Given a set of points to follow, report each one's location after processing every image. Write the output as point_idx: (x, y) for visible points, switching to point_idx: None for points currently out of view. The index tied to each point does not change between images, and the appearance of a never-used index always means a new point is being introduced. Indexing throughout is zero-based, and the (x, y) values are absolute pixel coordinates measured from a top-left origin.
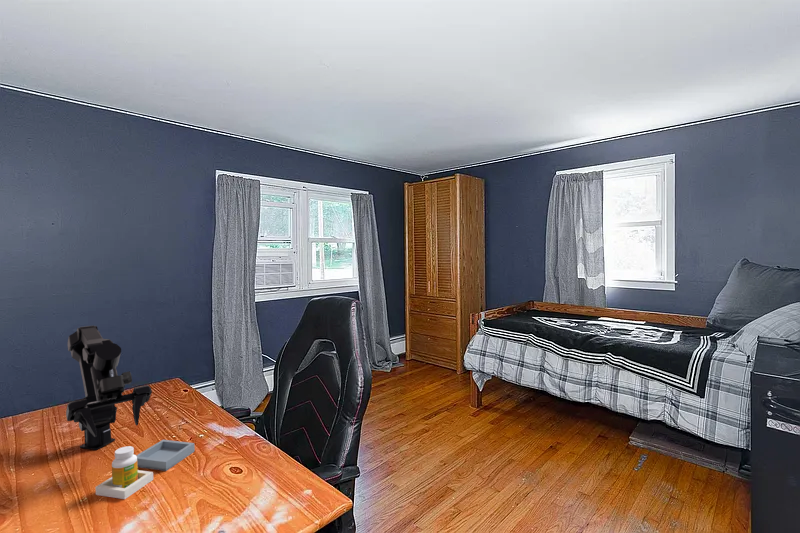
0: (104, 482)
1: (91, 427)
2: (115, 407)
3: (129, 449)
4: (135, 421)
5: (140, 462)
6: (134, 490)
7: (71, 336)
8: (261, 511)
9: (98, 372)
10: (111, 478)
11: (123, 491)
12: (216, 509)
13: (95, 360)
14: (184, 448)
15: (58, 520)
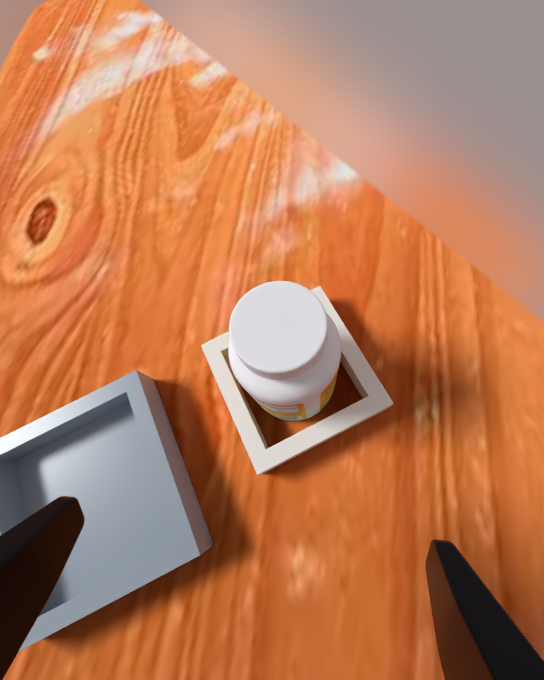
0: (358, 412)
1: (529, 648)
2: None
3: (255, 306)
4: (56, 542)
5: (188, 501)
6: None
7: None
8: (136, 53)
9: None
10: (328, 426)
11: (322, 290)
12: (184, 105)
13: None
14: (25, 434)
15: (511, 331)
